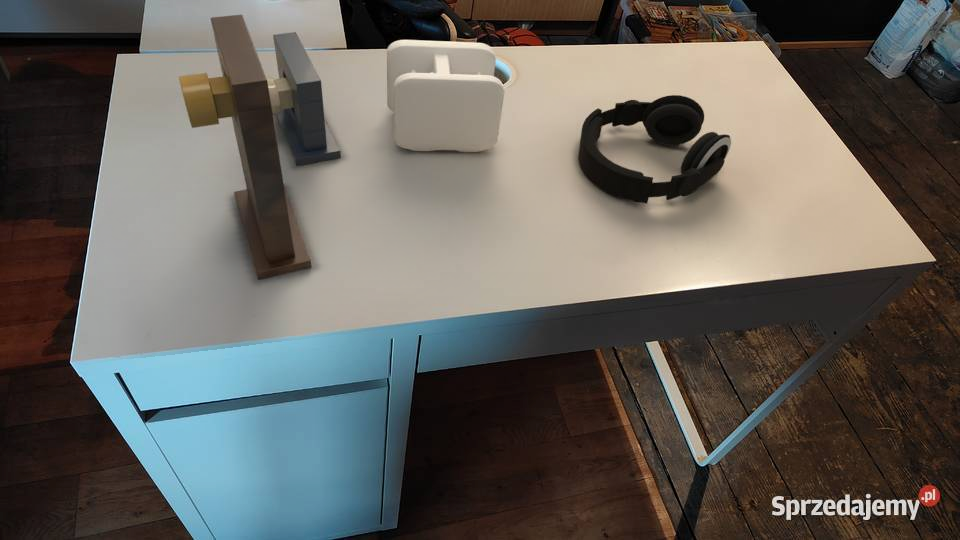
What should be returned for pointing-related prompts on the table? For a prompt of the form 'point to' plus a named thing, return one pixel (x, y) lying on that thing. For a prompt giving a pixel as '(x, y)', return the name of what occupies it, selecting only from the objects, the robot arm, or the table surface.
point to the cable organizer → (443, 95)
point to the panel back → (303, 105)
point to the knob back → (280, 94)
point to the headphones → (664, 124)
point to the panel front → (258, 156)
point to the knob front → (206, 99)
